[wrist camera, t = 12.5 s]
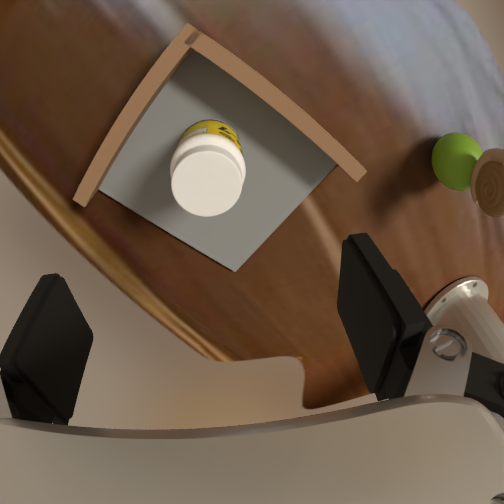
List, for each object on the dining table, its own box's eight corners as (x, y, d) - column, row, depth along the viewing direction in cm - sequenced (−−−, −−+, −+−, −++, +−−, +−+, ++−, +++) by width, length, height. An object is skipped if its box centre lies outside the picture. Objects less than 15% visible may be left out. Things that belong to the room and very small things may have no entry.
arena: (348, 155, 26) (367, 171, 23) (238, 271, 32) (241, 298, 29) (191, 28, 19) (187, 22, 16) (89, 180, 25) (72, 199, 22)
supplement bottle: (250, 158, 25) (264, 201, 18) (199, 184, 26) (192, 237, 19) (222, 106, 23) (224, 129, 16) (168, 136, 24) (147, 171, 17)
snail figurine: (466, 120, 25) (555, 166, 15) (456, 178, 29) (532, 238, 19) (426, 112, 25) (519, 157, 15) (416, 175, 28) (494, 241, 18)
